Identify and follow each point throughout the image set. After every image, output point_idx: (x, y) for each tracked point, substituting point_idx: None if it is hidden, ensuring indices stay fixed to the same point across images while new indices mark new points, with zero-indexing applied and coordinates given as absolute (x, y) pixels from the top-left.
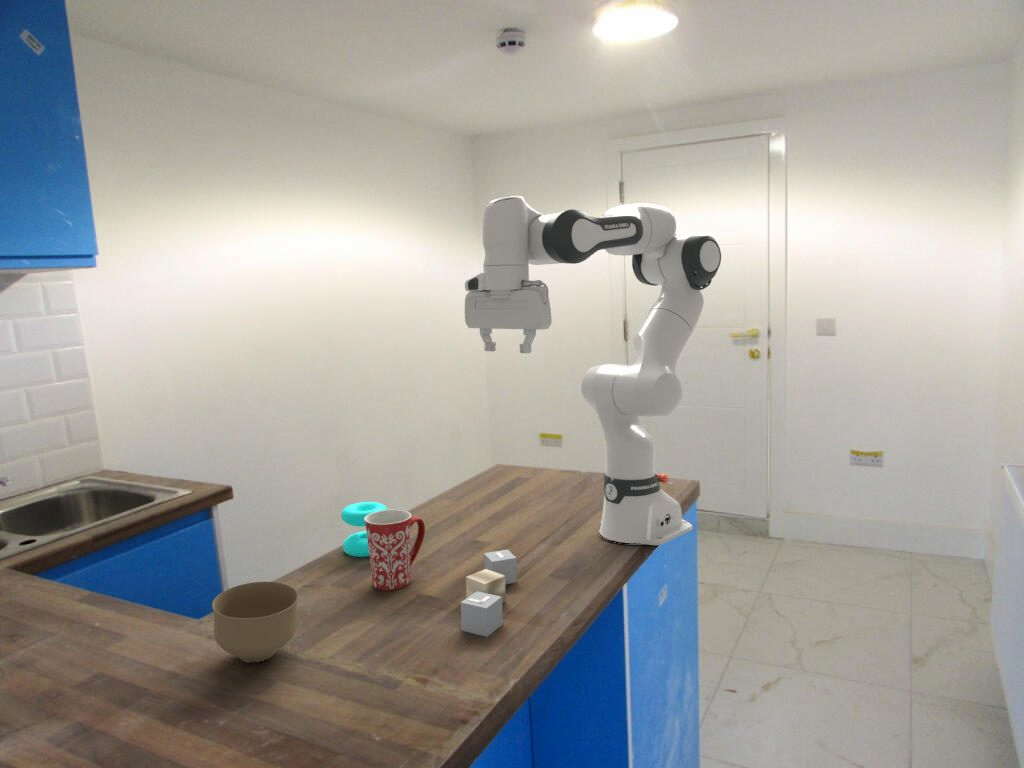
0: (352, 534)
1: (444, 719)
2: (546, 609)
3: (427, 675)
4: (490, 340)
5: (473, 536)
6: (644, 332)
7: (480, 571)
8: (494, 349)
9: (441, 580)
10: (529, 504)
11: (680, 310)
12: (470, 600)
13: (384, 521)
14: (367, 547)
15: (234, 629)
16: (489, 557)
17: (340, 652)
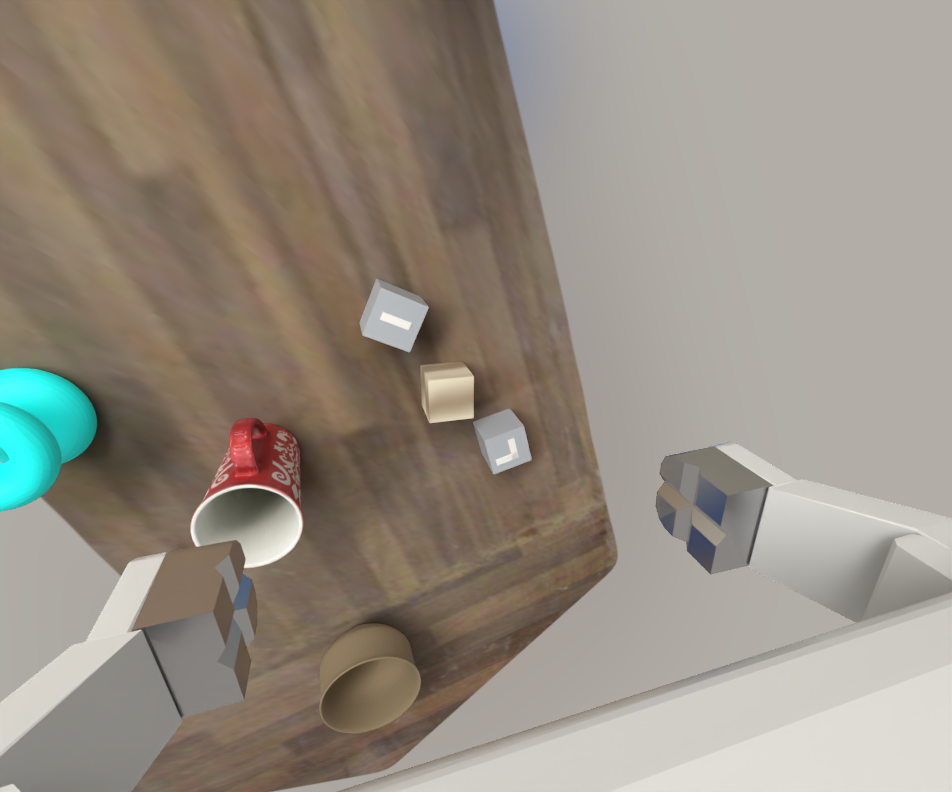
0: None
1: (589, 543)
2: (525, 336)
3: (527, 525)
4: (123, 682)
5: (104, 162)
6: None
7: (430, 393)
8: (236, 559)
9: (317, 385)
10: None
11: None
12: (501, 464)
13: (207, 506)
14: (86, 440)
15: (397, 700)
16: (389, 342)
17: (420, 572)
